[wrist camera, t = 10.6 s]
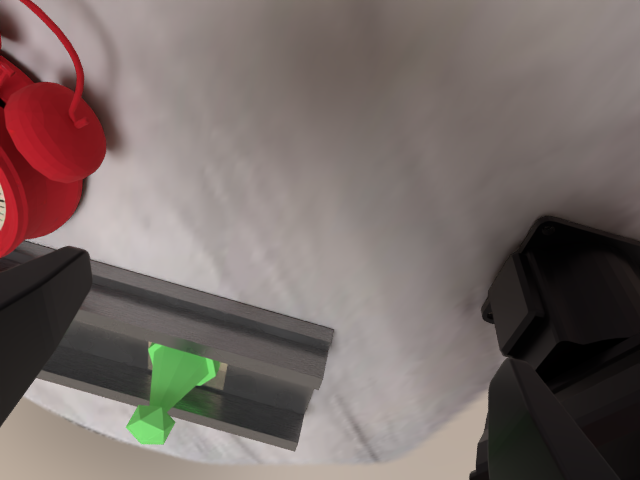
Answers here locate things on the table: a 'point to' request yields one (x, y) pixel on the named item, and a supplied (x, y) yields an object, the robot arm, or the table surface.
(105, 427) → the table surface
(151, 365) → the track
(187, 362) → the game piece
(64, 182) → the alarm clock
